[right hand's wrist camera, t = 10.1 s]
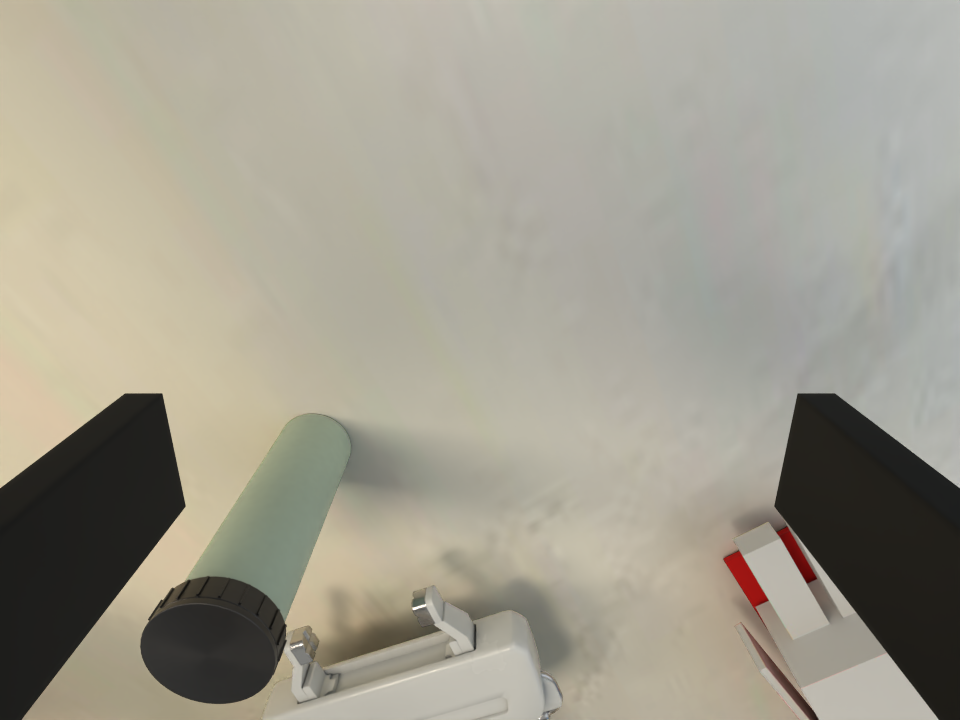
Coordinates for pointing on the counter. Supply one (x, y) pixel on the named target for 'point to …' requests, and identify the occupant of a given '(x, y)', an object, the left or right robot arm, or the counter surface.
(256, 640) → the lid
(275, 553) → the pale green bottle
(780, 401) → the counter surface
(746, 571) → the toy
